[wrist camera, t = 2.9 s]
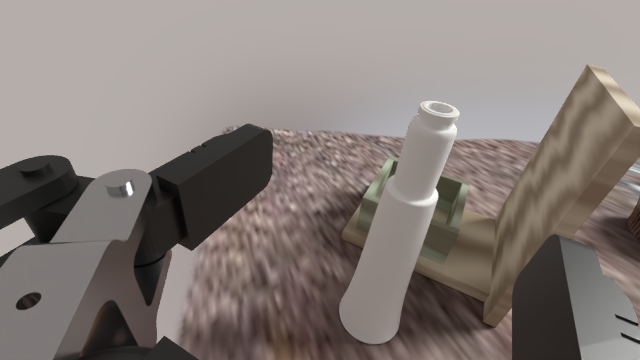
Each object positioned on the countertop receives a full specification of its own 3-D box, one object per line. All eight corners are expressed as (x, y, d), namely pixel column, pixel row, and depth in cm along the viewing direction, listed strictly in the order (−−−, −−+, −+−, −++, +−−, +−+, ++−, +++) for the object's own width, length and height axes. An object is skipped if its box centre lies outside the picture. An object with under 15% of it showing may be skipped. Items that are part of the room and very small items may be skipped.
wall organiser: (376, 183, 48) (415, 31, 35) (500, 228, 43) (601, 67, 29) (332, 252, 37) (365, 62, 24) (495, 327, 31) (660, 131, 18)
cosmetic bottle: (401, 350, 28) (513, 141, 15) (336, 338, 29) (389, 123, 15) (397, 292, 33) (478, 95, 20) (341, 283, 33) (385, 82, 20)
